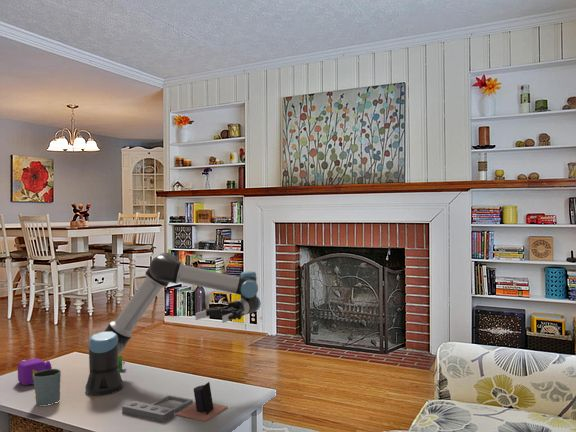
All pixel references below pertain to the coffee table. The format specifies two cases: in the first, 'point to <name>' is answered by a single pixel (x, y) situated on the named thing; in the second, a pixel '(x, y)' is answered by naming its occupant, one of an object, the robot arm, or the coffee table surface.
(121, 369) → the geometric puzzle
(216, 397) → the coffee table surface
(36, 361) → the toy camera
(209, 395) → the speaker
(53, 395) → the grey-green cup
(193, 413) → the mat
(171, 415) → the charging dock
